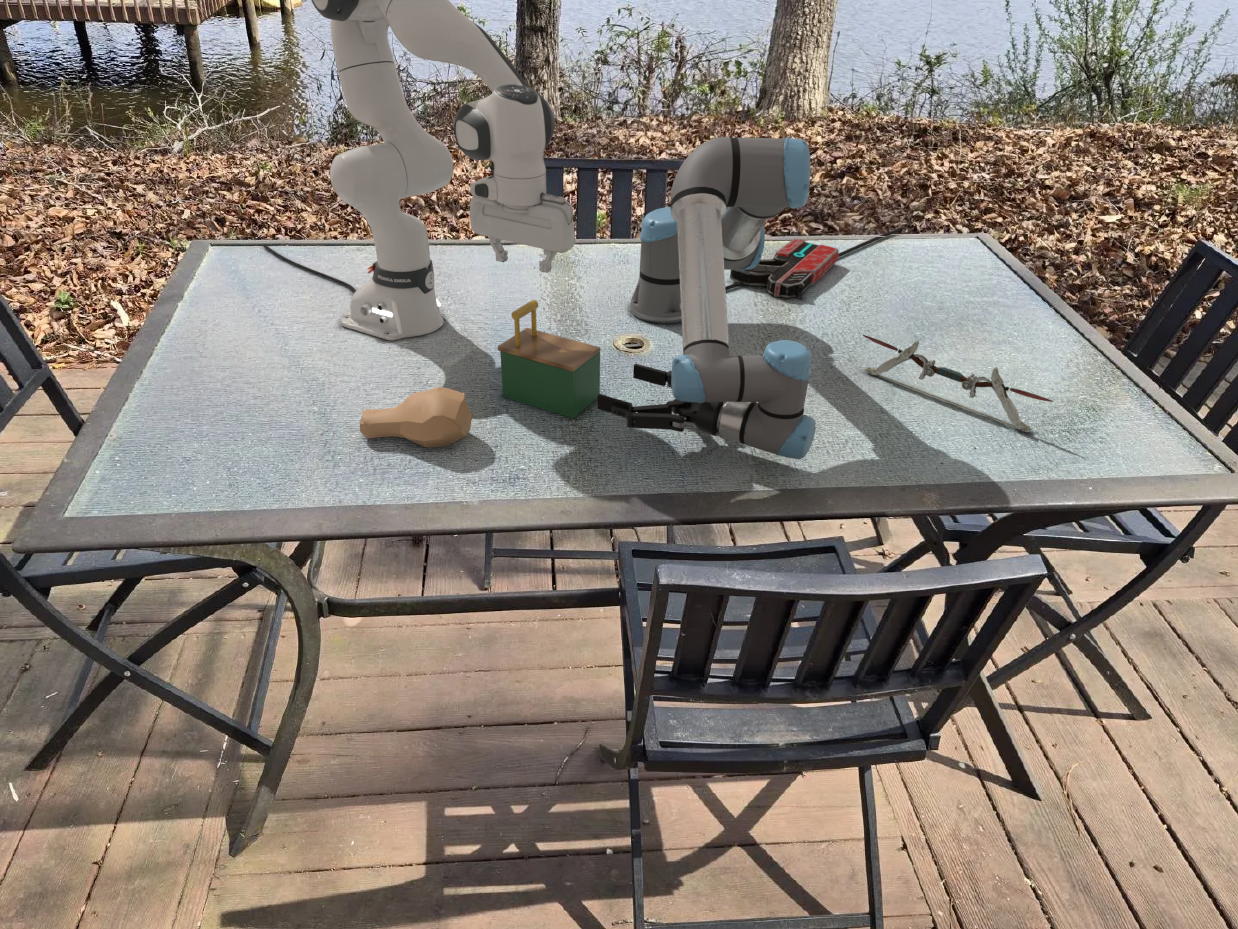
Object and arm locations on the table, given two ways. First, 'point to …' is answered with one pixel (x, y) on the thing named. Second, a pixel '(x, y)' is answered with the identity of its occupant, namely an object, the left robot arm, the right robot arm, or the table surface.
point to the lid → (546, 344)
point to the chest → (550, 384)
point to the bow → (967, 383)
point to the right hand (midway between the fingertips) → (616, 385)
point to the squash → (422, 418)
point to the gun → (790, 268)
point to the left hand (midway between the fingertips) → (523, 266)
